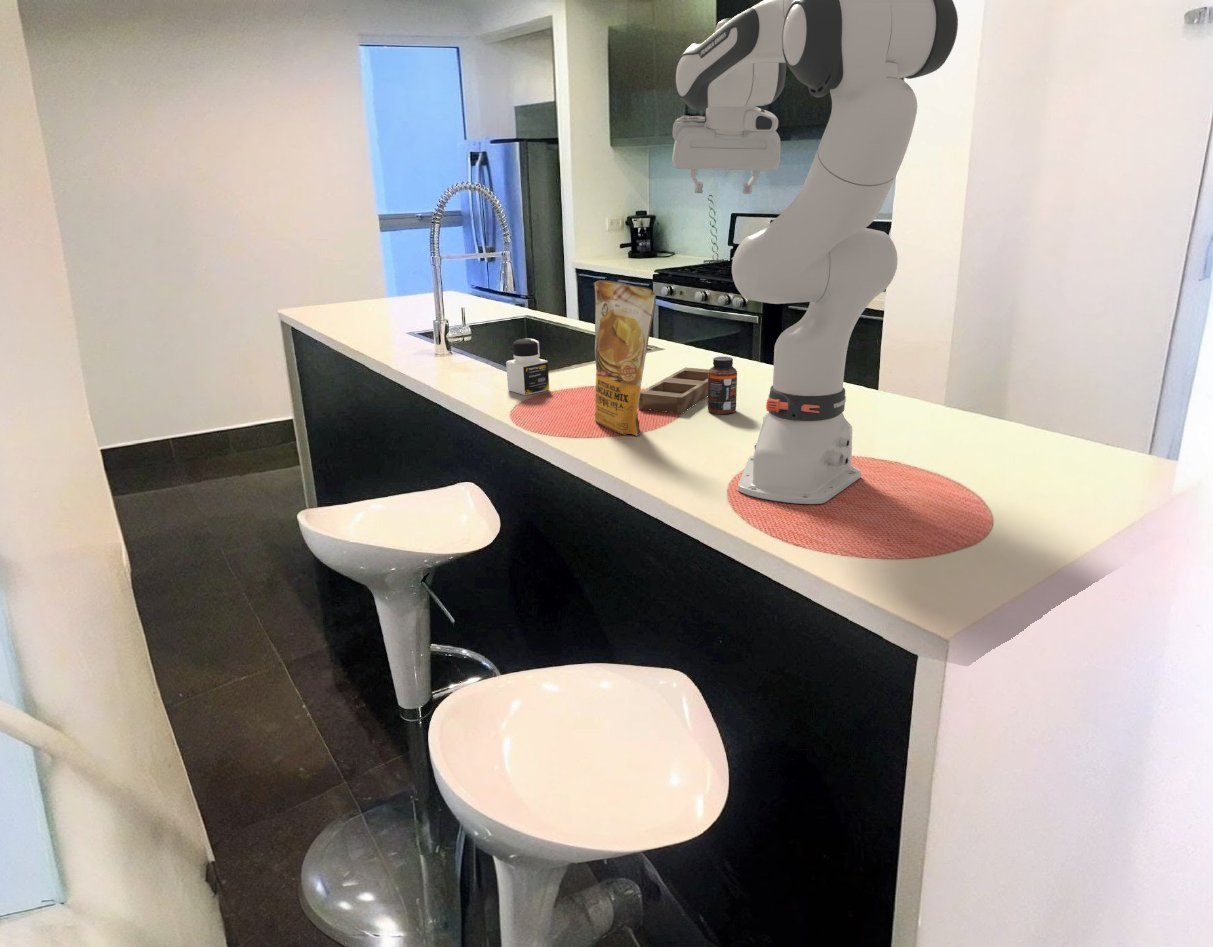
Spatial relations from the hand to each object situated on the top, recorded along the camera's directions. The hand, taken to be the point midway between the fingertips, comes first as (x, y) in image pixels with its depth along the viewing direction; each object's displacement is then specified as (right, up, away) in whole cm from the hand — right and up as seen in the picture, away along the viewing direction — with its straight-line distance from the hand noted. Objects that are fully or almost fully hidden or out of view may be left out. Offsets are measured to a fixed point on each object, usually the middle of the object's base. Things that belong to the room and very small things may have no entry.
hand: (722, 192), depth 161 cm
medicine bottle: (-41, -35, +35) cm, 64 cm away
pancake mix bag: (-20, -45, +6) cm, 49 cm away
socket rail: (-5, -37, +25) cm, 45 cm away
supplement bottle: (+2, -41, +14) cm, 44 cm away
